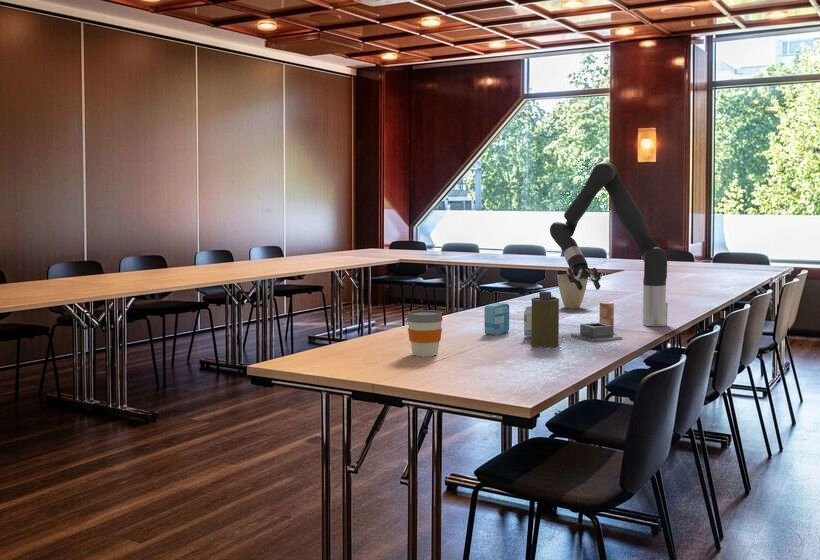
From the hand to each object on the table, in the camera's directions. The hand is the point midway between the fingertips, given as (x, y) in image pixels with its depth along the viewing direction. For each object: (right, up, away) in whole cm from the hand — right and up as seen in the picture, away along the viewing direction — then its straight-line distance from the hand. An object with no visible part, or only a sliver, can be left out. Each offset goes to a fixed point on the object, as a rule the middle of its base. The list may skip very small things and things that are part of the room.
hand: (590, 288), depth 349 cm
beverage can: (-27, -19, -19) cm, 38 cm away
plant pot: (+6, -10, +66) cm, 67 cm away
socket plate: (-2, -19, -21) cm, 29 cm away
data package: (-40, -18, -8) cm, 44 cm away
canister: (-24, -21, -36) cm, 48 cm away
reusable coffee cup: (-70, -23, -52) cm, 90 cm away
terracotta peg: (+5, -18, -9) cm, 20 cm away
